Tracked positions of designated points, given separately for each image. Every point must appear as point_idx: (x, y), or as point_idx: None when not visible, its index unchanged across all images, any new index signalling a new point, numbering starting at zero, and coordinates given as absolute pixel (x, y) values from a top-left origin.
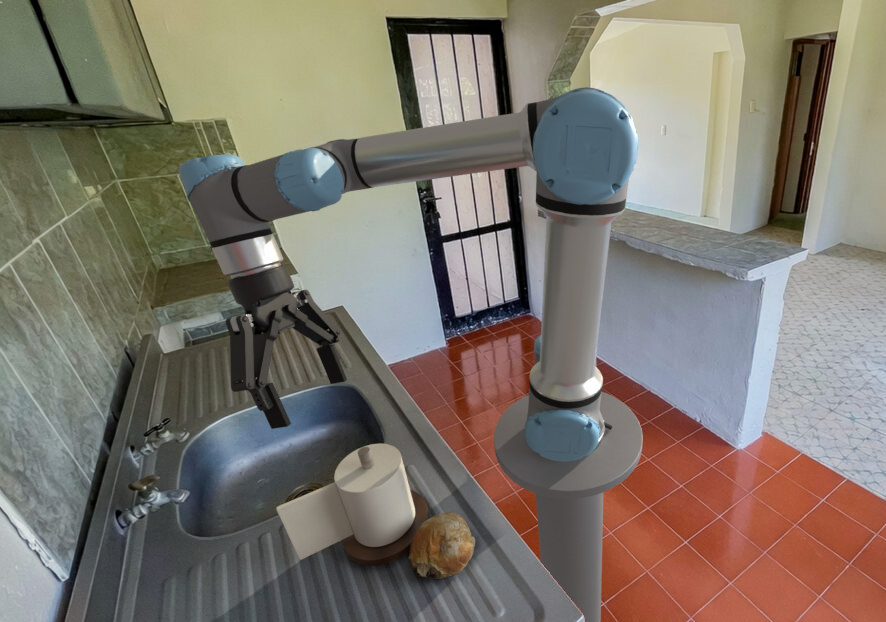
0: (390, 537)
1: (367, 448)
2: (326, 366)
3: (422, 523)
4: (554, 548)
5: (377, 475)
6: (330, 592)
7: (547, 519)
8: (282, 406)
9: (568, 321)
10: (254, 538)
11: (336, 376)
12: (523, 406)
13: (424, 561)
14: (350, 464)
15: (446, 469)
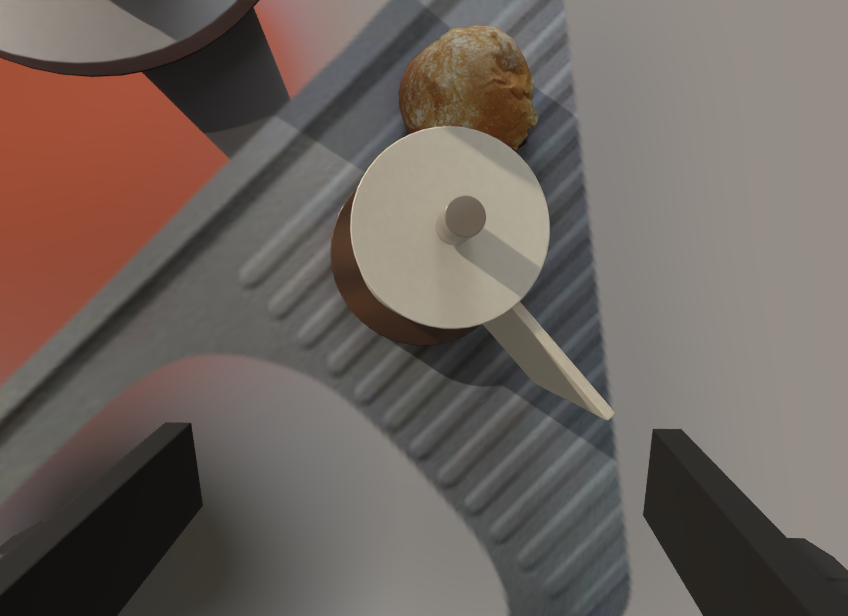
0: None
1: (452, 209)
2: (129, 574)
3: None
4: (264, 75)
5: (484, 180)
6: (563, 296)
7: (240, 51)
8: (716, 493)
9: None
10: (481, 522)
11: (173, 480)
12: None
13: (530, 105)
14: (451, 290)
15: (244, 178)
